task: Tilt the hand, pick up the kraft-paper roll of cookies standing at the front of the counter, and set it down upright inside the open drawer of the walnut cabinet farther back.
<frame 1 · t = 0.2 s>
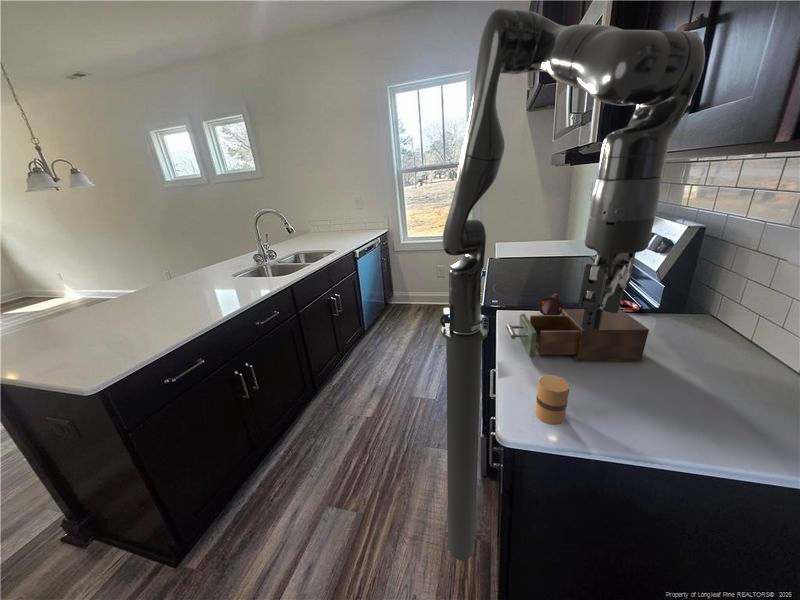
hand: (600, 320, 49), 22 cm above the countertop, tool pointing down, fingers open, 8 cm apart
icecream: (549, 316, 102), on the countertop
cookie roll: (549, 415, 61), on the countertop
drawer: (542, 334, 83), point 4 cm above the countertop, slide at 10.0 cm
candy cane: (611, 307, 106), on the countertop
cabinet: (596, 348, 83), on the countertop
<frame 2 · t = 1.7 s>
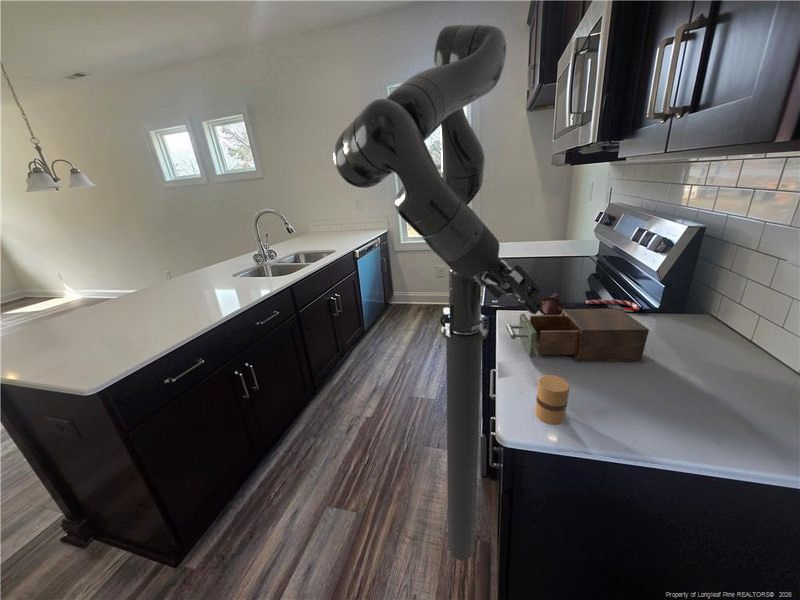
hand: (517, 301, 52), 25 cm above the countertop, tool tilted 45°, fingers open, 8 cm apart
nothing on the countertop moved.
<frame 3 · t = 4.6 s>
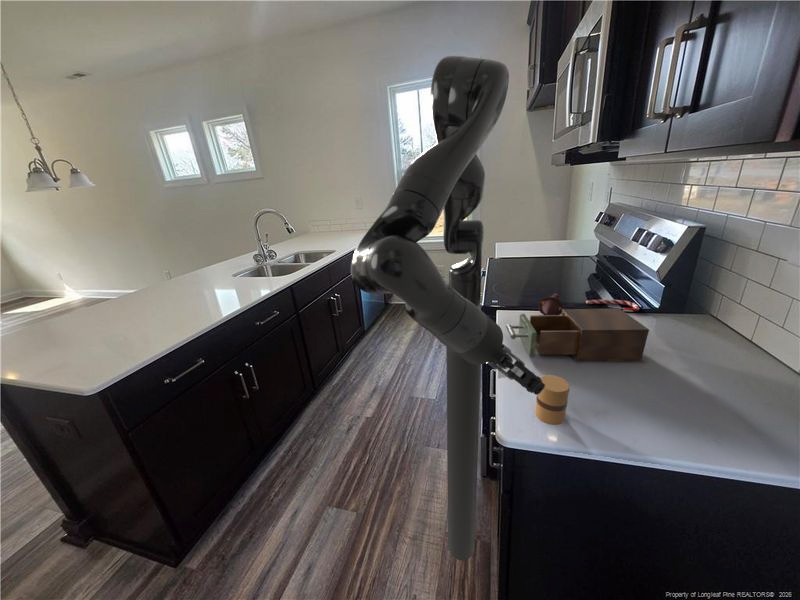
hand: (522, 375, 55), 11 cm above the countertop, tool tilted 45°, fingers open, 8 cm apart
nothing on the countertop moved.
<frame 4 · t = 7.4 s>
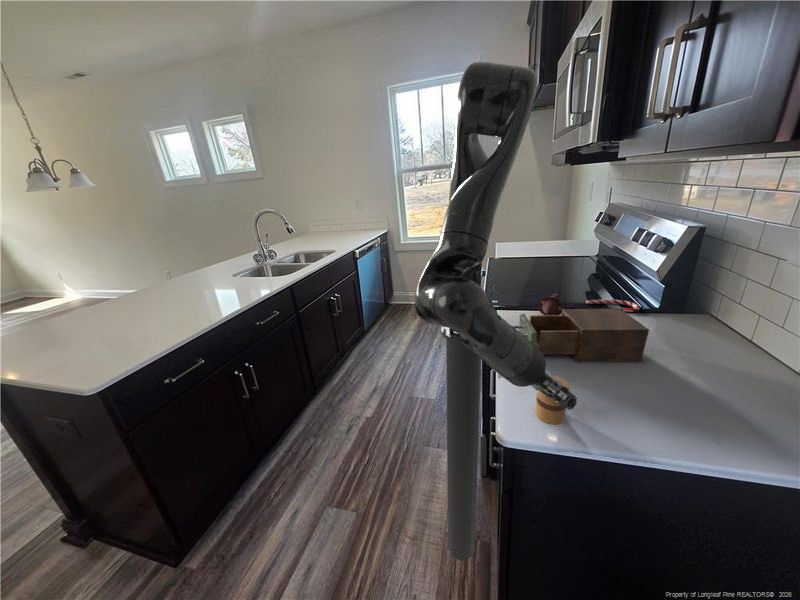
hand: (559, 395, 60), 4 cm above the countertop, tool tilted 45°, fingers closed on cookie roll, 5 cm apart
cookie roll: (549, 415, 61), on the countertop, touching gripper
everything else where it was.
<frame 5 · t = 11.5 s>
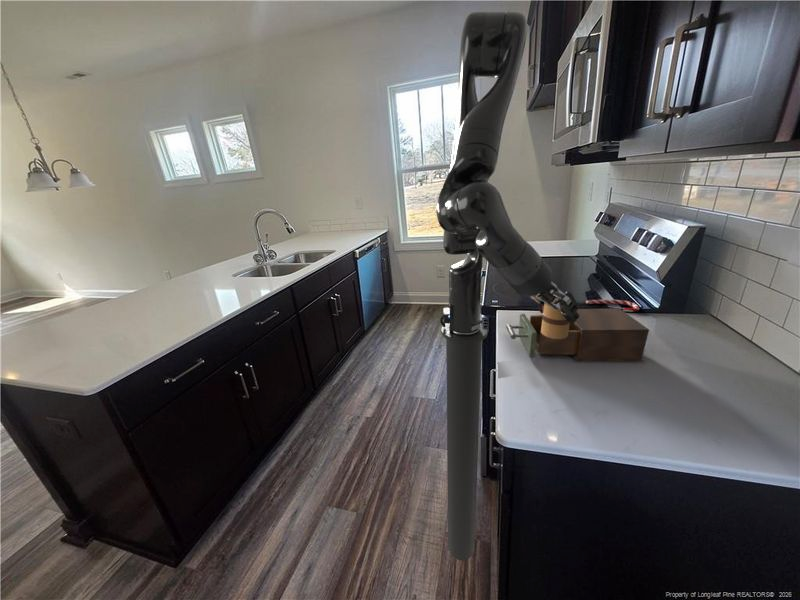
hand: (563, 313, 67), 16 cm above the countertop, tool tilted 45°, fingers closed on cookie roll, 5 cm apart
cookie roll: (554, 333, 68), point 12 cm above the countertop, touching gripper
everything else where it was.
when the fingers open (8 cm above the countertop, at t = 15.9 s): cookie roll drops 2 cm, resting on drawer.
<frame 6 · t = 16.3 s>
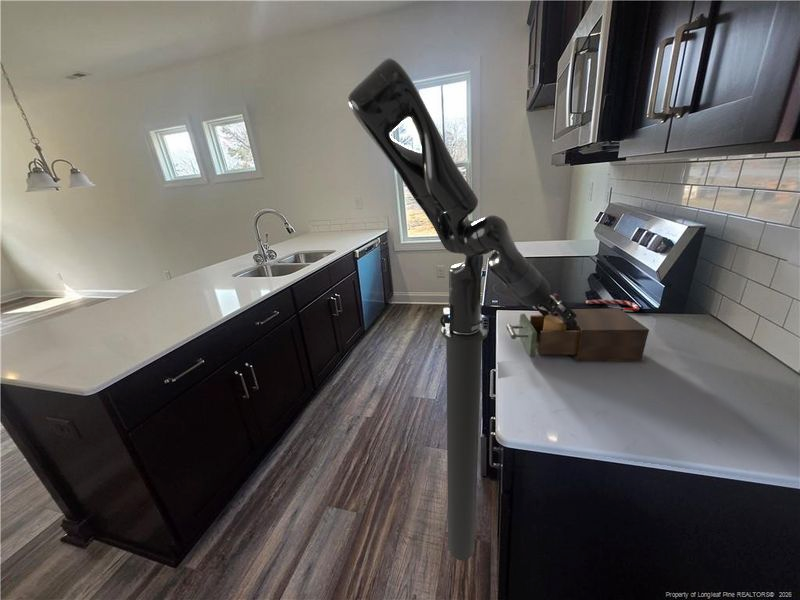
hand: (559, 319, 80), 9 cm above the countertop, tool tilted 45°, fingers open, 8 cm apart
cookie roll: (552, 344, 82), point 2 cm above the countertop, touching drawer
drawer: (543, 334, 83), point 4 cm above the countertop, slide at 9.9 cm, touching cookie roll
everything else where it was.
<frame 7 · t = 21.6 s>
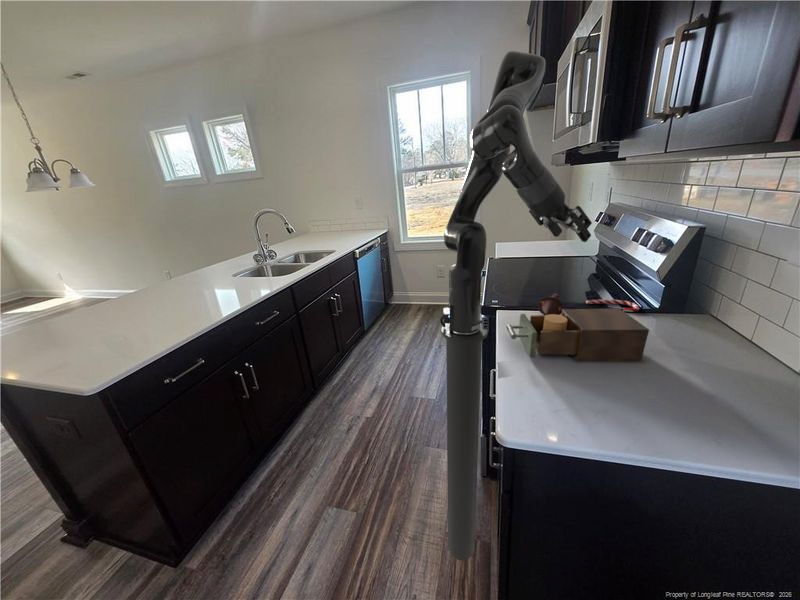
hand: (572, 236, 78), 29 cm above the countertop, tool tilted 45°, fingers open, 8 cm apart
nothing on the countertop moved.
at the end: cookie roll inside the target area in the drawer (1.5 cm from its centre), point 2.0 cm above the cabinet's base; cookie roll tilted 0°; the gripper is holding nothing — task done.
